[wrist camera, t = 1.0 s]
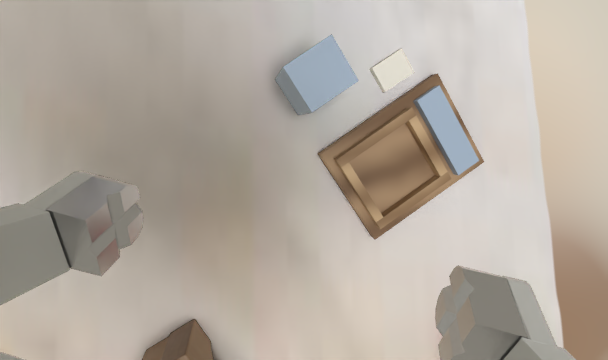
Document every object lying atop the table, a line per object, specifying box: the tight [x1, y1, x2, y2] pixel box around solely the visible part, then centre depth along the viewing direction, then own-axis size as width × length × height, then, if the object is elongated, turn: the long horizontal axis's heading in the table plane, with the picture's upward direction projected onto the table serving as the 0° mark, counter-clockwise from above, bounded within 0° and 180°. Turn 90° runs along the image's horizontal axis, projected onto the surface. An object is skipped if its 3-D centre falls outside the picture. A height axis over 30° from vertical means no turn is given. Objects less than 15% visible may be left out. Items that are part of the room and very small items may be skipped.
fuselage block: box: [275, 34, 359, 115], centre depth 34 cm, size 4×5×8 cm
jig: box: [318, 74, 484, 239], centre depth 39 cm, size 12×16×2 cm
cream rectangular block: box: [370, 49, 415, 93], centre depth 39 cm, size 3×4×1 cm
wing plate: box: [413, 85, 479, 175], centre depth 39 cm, size 10×3×1 cm, turn 33°
